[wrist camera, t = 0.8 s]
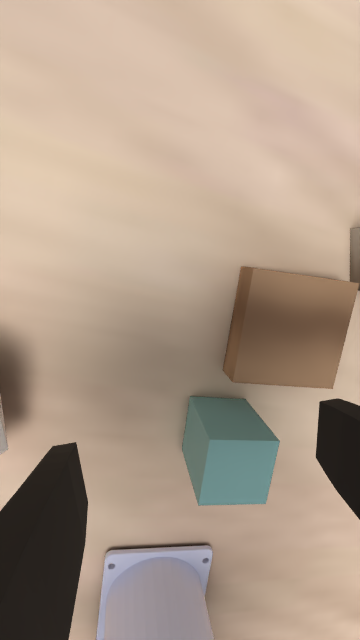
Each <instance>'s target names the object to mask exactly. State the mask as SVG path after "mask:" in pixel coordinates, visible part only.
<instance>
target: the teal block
mask: <svg viewBox="0 0 360 640" xmlns="http://www.w3.org/2000/svg"><path fill="white" fill-rule="evenodd" d="M279 442H280V441H279V440H278V438H277V437H276V436H275V435H274V434H273V432H272V431H271V430H270V429H269V427H268V426H267V425H266V424H265V423H264V421H263V420H262V419H261V418H260V417H259V415H258V414H257V413H256V412H255V410H254V409H253V408H252V407H251V406H250V404H249V403H248V402H247V401H246V399H233V398H214V397H194V396H190V400H189V407H188V413H187V419H186V426H185V432H184V439H183V445H182V451H183V454H184V458H185V461H186V465H187V468H188V471H189V475H190V478H191V482H192V485H193V489H194V492H195V495H196V499H197V502H198V505H236V504H266V500H267V496H268V491H269V487H270V482H271V478H272V474H273V469H274V465H275V460H276V456H277V451H278V447H279Z"/></svg>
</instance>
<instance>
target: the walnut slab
mask: <svg viewBox="0 0 360 640" xmlns="http://www.w3.org/2000/svg"><path fill="white" fill-rule="evenodd" d="M358 286H359V283H354V282H347V281H340V280H333V279H326V278H319V277H313V276H306V275H299V274H292V273H285V272H278V271H271V270H264V269H257V268H250V267H241V270H240V276H239V282H238V287H237V293H236V299H235V304H234V310H233V316H232V321H231V327H230V333H229V338H228V344H227V350H226V355H225V361H224V367H223V371H224V372H225V374H226V375H227V376H228V377H229V378H230V380H231V381H232V382H235V383H251V384H266V385H281V386H297V387H312V388H328V389H333V385H334V382H335V378H336V374H337V370H338V366H339V362H340V358H341V354H342V350H343V346H344V342H345V338H346V334H347V330H348V326H349V322H350V318H351V314H352V310H353V306H354V302H355V298H356V294H357V290H358Z"/></svg>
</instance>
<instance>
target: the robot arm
mask: <svg viewBox="0 0 360 640" xmlns="http://www.w3.org/2000/svg"><path fill="white" fill-rule="evenodd" d="M316 458H317V460H318V462H319V463H320V465H321V467H322V468H323V470H324V472H325V473H326V475H327V477H328V478H329V480H330V481H331V483H332V484H333V486H334V487H335V489H336V490H337V492H338V493H339V494H340V495H341V497H342V498H343V499H344V500H345V502H346V503H347V504H348V506H349V507H350V508H351V509H352V511H353V512H354V513H355V514H356V516H357V517H358V518H359V519H360V406H358V405H356V404H353V403H350V402H347V401H344V400H341V399H332V400H326V401H320V405H319V419H318V433H317V448H316ZM87 509H88V500H87V495H86V490H85V485H84V480H83V475H82V470H81V465H80V459H79V454H78V449H77V444H76V442H75V443H69V444H63V445H57V446H53V447H52V448H51V449H50V450H49V451H48V453H47V454H46V455H45V456H44V458H43V459H42V460H41V461H40V463H39V464H38V465H37V466H36V468H35V469H34V470H33V471H32V473H31V474H30V475H29V477H28V478H27V479H26V480H25V482H24V483H23V484H22V485H21V487H20V488H19V489H18V490H17V492H16V493H15V494H14V495H13V496H12V498H11V499H10V500H9V501H8V502H7V504H6V505H5V506H4V507H3V509H2V510H1V511H0V640H68V639H69V633H70V628H71V622H72V616H73V611H74V605H75V599H76V594H77V588H78V582H79V576H80V571H81V565H82V559H83V553H84V547H85V538H86V525H87ZM212 556H213V552H212V548H211V547H210V546H207V545H204V546H184V547H164V548H144V549H124V550H111V551H109V552H107V553H106V555H105V562H104V571H103V580H102V589H101V599H100V608H99V617H98V626H97V635H96V640H214V636H213V632H212V627H211V623H210V619H209V614H208V610H207V606H206V601H205V592H206V587H207V582H208V576H209V571H210V566H211V561H212ZM111 563H113V564H111Z"/></svg>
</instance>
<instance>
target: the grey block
mask: <svg viewBox="0 0 360 640" xmlns="http://www.w3.org/2000/svg"><path fill="white" fill-rule="evenodd" d="M350 282H354V283H359V286H358V290H360V228H352V229H350Z"/></svg>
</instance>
